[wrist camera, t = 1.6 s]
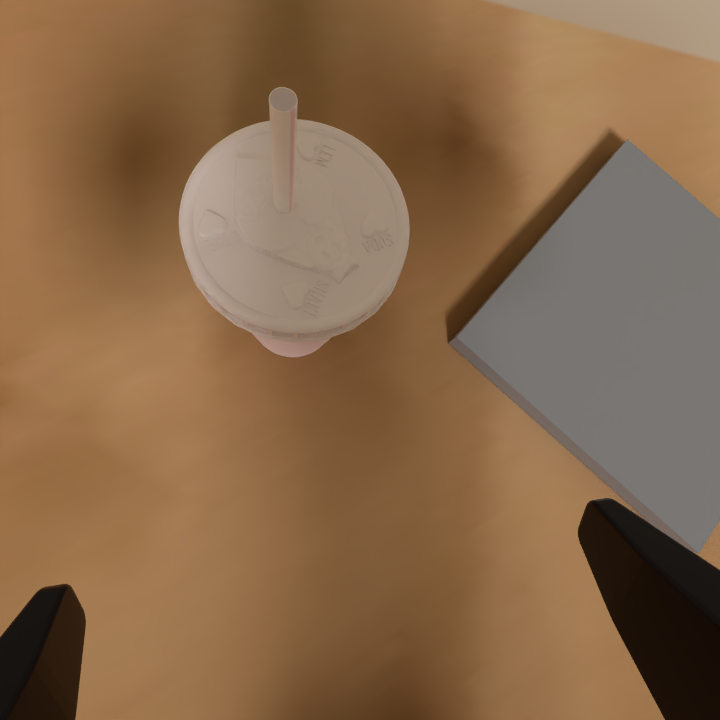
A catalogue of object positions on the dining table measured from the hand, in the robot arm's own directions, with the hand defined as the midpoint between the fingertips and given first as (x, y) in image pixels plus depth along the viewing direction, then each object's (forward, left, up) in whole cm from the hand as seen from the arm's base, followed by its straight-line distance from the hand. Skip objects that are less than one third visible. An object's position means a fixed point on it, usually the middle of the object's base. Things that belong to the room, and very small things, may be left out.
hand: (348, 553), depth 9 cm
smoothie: (+6, -5, -14) cm, 16 cm away
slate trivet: (-7, -16, -14) cm, 22 cm away
